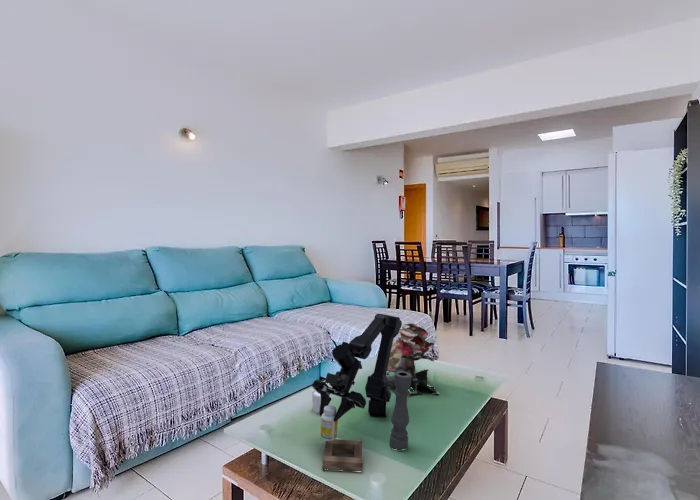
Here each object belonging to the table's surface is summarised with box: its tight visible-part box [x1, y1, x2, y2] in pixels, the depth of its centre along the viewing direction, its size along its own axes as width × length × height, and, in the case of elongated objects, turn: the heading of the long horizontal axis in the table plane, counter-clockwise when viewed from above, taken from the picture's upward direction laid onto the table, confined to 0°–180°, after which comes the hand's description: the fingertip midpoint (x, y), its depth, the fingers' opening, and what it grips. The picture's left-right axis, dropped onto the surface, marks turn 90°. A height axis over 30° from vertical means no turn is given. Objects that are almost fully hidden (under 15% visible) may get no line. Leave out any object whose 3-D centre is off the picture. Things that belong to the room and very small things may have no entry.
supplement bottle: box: [319, 404, 339, 441], centre depth 124 cm, size 5×5×10 cm
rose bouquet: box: [386, 322, 437, 397], centre depth 181 cm, size 26×29×30 cm
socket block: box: [321, 438, 363, 472], centre depth 121 cm, size 12×12×3 cm
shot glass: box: [311, 389, 321, 414], centre depth 153 cm, size 7×7×7 cm
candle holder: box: [389, 371, 411, 450], centre depth 130 cm, size 6×6×25 cm
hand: (327, 418), depth 122 cm, fingers closed on supplement bottle, 5 cm apart
